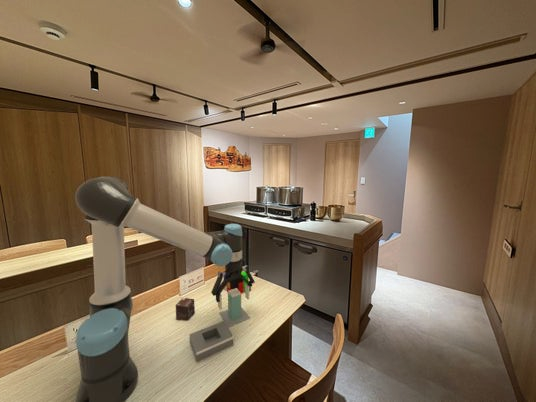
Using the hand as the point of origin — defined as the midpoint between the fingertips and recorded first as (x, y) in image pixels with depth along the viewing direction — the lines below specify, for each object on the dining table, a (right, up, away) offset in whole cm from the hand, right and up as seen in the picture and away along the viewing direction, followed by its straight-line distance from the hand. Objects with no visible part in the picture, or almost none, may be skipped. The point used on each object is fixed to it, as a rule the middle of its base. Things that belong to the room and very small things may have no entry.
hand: (234, 302), depth 97 cm
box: (-23, -7, +1) cm, 24 cm away
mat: (0, -7, +1) cm, 7 cm away
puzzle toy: (-3, -4, +23) cm, 24 cm away
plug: (0, -6, +1) cm, 6 cm away
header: (-6, -9, -15) cm, 19 cm away
